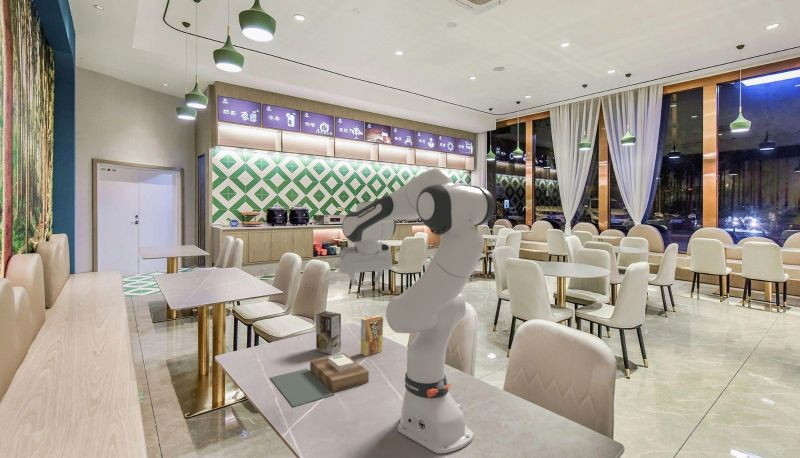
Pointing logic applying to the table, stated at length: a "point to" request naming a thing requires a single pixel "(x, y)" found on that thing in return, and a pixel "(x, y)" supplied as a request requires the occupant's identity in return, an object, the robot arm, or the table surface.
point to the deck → (338, 374)
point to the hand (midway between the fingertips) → (365, 283)
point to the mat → (301, 387)
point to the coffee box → (328, 332)
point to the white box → (341, 362)
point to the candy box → (371, 335)
